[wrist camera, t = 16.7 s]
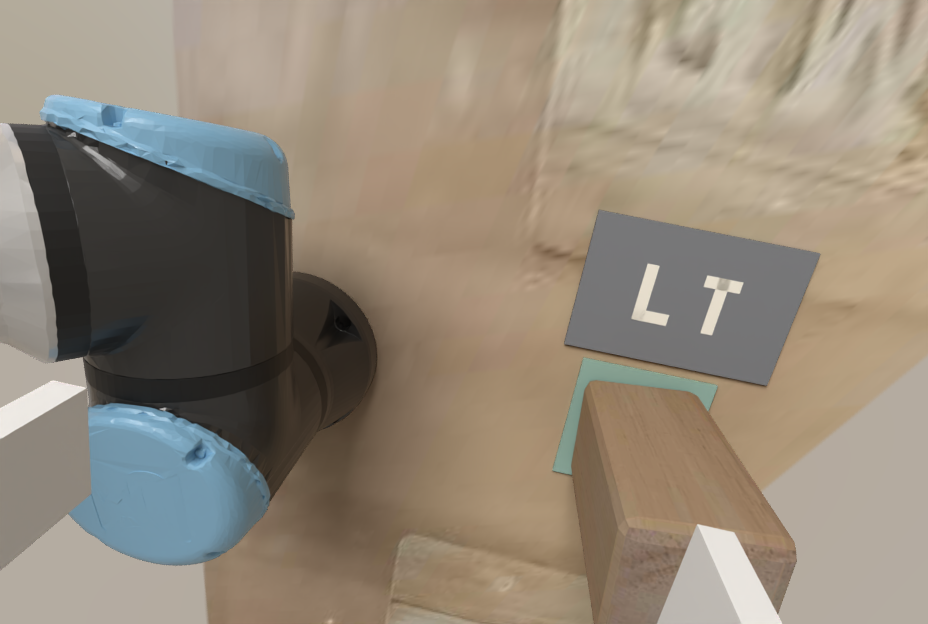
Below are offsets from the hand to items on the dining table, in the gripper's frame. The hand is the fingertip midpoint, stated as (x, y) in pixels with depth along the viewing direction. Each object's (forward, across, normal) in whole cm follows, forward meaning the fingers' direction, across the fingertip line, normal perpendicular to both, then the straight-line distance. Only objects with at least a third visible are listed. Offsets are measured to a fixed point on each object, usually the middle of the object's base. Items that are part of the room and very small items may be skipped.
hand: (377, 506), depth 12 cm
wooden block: (+37, +17, -16) cm, 43 cm away
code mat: (+37, +18, -3) cm, 41 cm away
